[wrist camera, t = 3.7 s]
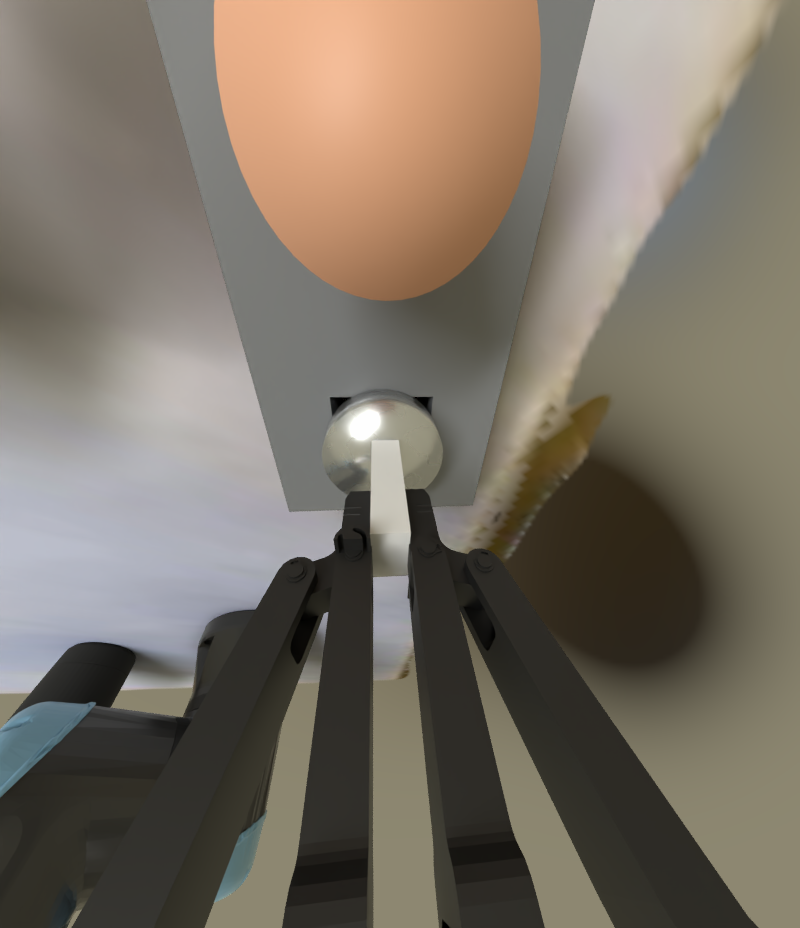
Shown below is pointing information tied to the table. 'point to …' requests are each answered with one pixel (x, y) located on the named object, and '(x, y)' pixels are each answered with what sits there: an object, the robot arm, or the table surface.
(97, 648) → the pen holder
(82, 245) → the table surface
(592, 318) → the table surface
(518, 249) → the press console
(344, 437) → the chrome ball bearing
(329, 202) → the peach rounded piece
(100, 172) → the table surface
